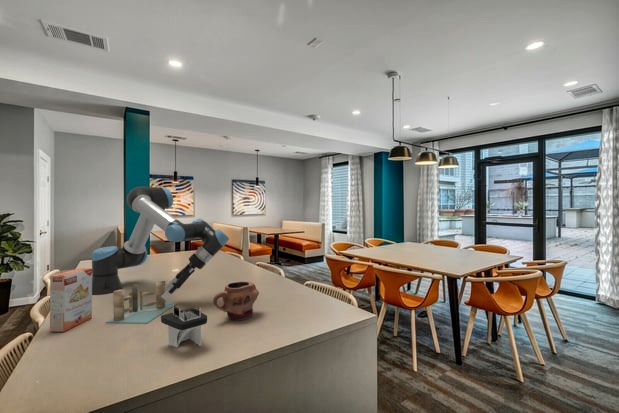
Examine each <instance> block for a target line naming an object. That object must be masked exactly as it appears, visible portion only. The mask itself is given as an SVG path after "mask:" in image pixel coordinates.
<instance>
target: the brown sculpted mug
mask: <svg viewBox="0 0 619 413" xmlns="http://www.w3.org/2000/svg"><path fill="white" fill-rule="evenodd" d="M259 294H260V292H259V290H258V289H257V287H256V285H255V283H254V282H252V281H238V282H230V283H227V284H226V285H225V287H224V291H221V292H218V293H217V294H216V295H214V297H213V300H212V301H213V302H212V303H213V305H214V307H215V308H216V309H218V310H220V311H223V312H224V313H227V314H226V315H227V317H228V319H229V320H231V321H243V320H246V319H249V318H251V317H252V316H253V314H254V309H253V306H254V304H255V302H256V300H257V298H258V296H259ZM219 299H222V303H223V305H222V306H219V305H218V300H219Z"/></svg>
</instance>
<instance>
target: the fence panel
mask: <svg viewBox="0 0 619 413" xmlns="http://www.w3.org/2000/svg"><path fill="white" fill-rule="evenodd" d="M165 287H166V281H165V280H160V281H156V282H155V291H154V290H153V291H146V292H145V291H144V292H143V289H140V290H139V304H140V310H142V309H143V307H147V306H154V305H156V308H157V309H162V308H165V303H166V300H165V299H164V298H162V297H161V296H162V295H163V294H164V293H165V292H166V289H165ZM155 295H156V296H155ZM146 296H155V301H154V302H151V303H143V297H146Z"/></svg>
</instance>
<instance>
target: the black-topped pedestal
mask: <svg viewBox="0 0 619 413" xmlns="http://www.w3.org/2000/svg"><path fill="white" fill-rule="evenodd" d="M201 309H202V308H201V307H199V308H194V307H191V308H186V309H182V310H181V308H178V307H176V305H175V306H174V305H173V307H172V312H170V313H166V314H161V315H160V322H161V323H162V324H163V325H166V326H167V327H168V328H167V330H168V333H167V334H168V335H167V336H168V339H167V340H168V342H167V343H168V344H167V345H168V346H171V347H175V348H178V347H180V343H181V342H183V341H186V340H191V341H192V342H193V341H194V342H193V343H195V344H196V345H197V344H198V345H197V346H199V347H200V346H201V347H202V326H203V325H206V324H207V323H208V315H207V314H205V313H203V312H201V311H202V310H201Z"/></svg>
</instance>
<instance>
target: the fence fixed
mask: <svg viewBox="0 0 619 413" xmlns="http://www.w3.org/2000/svg"><path fill="white" fill-rule="evenodd" d="M138 286H139V285H138V284H135V283H134V284H132V285H131V290H132V291H131V292H129V293H128V296H125V290H124V289H121V290H116V291H113V292H112V293H113V318H114V321H121V320H124V313H126V312H128V311H129V313H132V312H137V311H138V305H139V301H138V299H139V298H138V296H139V295H138V294H139V293H138V290H139V289H138ZM127 301H128V307H125V302H127Z"/></svg>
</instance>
